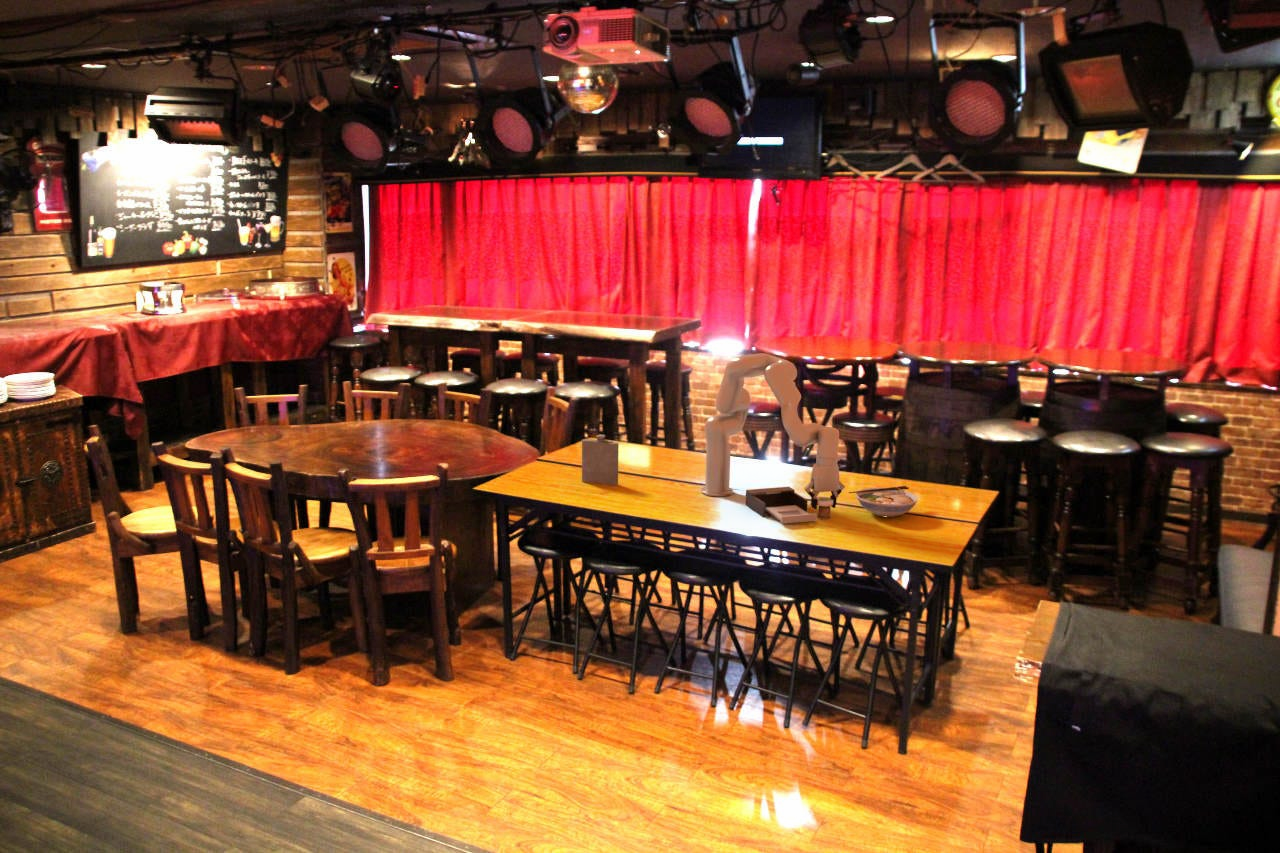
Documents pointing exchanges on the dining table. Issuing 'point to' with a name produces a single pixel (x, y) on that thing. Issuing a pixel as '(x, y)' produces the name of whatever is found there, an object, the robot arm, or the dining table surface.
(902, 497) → the ramen bowl
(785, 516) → the tray
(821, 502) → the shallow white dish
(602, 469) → the hip flask
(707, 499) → the dining table surface
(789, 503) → the tray
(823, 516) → the brown cube
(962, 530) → the dining table surface
